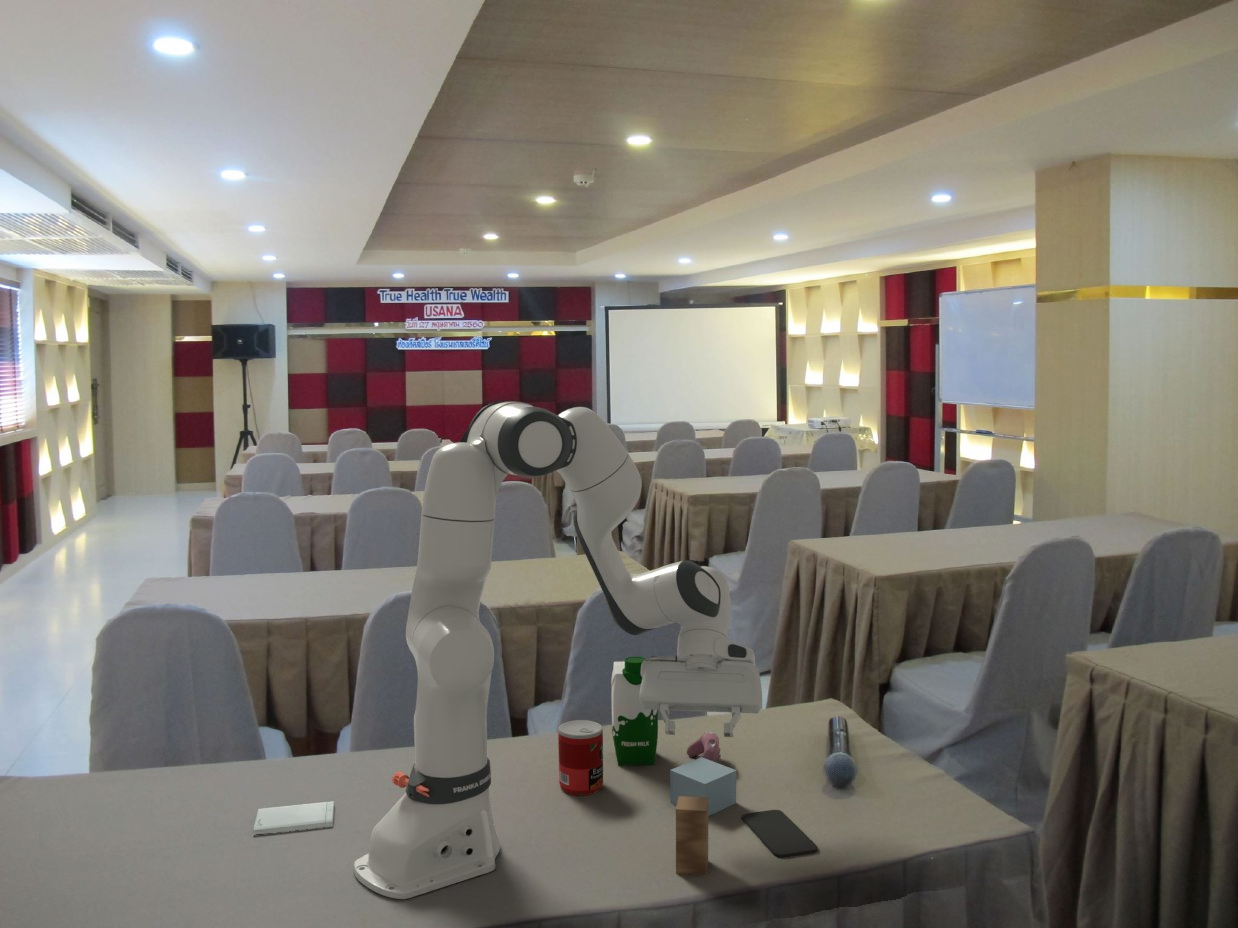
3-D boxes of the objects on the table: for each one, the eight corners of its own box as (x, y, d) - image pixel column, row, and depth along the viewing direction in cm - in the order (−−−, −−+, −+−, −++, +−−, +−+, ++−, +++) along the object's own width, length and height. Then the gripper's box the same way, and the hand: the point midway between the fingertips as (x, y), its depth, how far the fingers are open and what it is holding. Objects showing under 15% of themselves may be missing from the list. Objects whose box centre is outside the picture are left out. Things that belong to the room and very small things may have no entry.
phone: (779, 808, 171) (820, 848, 157) (779, 813, 171) (820, 853, 157) (739, 814, 169) (776, 855, 155) (739, 818, 169) (776, 860, 155)
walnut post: (676, 873, 151) (675, 808, 150) (678, 858, 155) (678, 795, 154) (706, 875, 150) (706, 810, 149) (708, 860, 154) (708, 797, 153)
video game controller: (710, 783, 186) (727, 750, 185) (687, 773, 185) (704, 740, 185) (705, 762, 195) (722, 730, 195) (684, 752, 195) (700, 720, 195)
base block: (704, 818, 169) (704, 783, 168) (670, 803, 174) (670, 769, 174) (736, 803, 174) (736, 770, 173) (701, 789, 180) (701, 756, 179)
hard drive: (252, 829, 164) (332, 819, 167) (258, 807, 172) (334, 798, 174) (253, 839, 164) (332, 829, 167) (258, 816, 172) (334, 808, 175)
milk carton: (613, 767, 189) (612, 663, 187) (611, 749, 198) (610, 649, 196) (660, 766, 190) (659, 662, 187) (655, 747, 199) (655, 648, 196)
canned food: (598, 797, 177) (597, 736, 176) (554, 793, 178) (553, 733, 177) (607, 779, 184) (606, 720, 183) (565, 776, 186) (564, 718, 185)
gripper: (640, 646, 171) (632, 723, 162) (762, 649, 168) (761, 728, 159) (643, 664, 176) (637, 739, 167) (763, 667, 172) (762, 745, 164)
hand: (699, 734), depth 163 cm, fingers open, 8 cm apart
